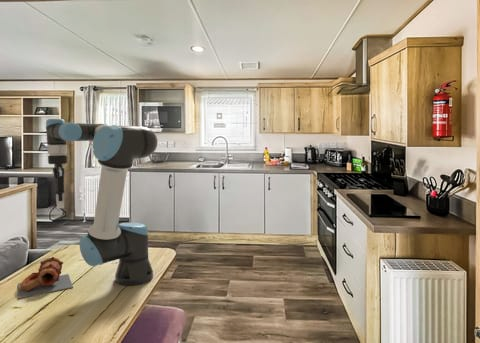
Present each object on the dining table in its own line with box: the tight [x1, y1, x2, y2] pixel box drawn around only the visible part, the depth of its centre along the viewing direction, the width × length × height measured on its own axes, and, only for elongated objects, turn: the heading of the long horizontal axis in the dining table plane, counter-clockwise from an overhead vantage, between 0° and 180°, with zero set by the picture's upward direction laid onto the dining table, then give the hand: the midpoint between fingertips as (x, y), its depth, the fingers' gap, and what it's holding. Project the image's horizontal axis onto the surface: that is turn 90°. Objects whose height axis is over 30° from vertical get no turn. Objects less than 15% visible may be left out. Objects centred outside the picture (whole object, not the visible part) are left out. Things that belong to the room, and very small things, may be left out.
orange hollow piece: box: [20, 256, 64, 291], centre depth 140 cm, size 15×8×15 cm
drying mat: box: [17, 273, 74, 300], centre depth 138 cm, size 15×18×1 cm
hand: (60, 208), depth 156 cm, fingers closed
